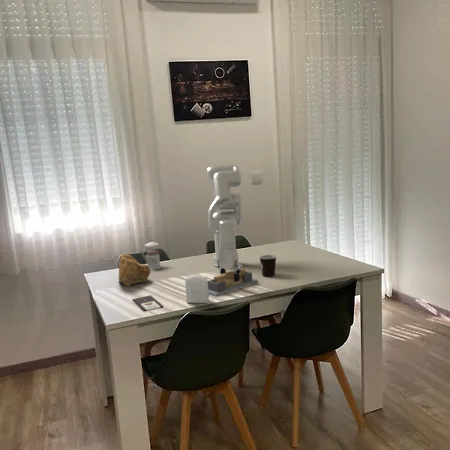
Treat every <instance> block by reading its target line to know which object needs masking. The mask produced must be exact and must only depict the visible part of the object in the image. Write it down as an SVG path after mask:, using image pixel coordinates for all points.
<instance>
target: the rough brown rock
mask: <svg viewBox="0 0 450 450" xmlns="http://www.w3.org/2000/svg"><path fill="white" fill-rule="evenodd" d="M150 275H151V270H150V268H149V267H148V266H147V264H143V263H139V261H137V259H136V258H135V257H133V256H132V255H131V254H127V253H126V254H123V253H122V254H121V256H120V258H119V262H118V281H119V282H121V283H123V284H124V285H125V286H126V287H130V286H131V285H135V284H138V283H142V284H144V283H147V282H148V280H149V279H148V278H149V276H150Z"/></svg>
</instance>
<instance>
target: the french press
mask: <svg viewBox="0 0 450 450" xmlns="http://www.w3.org/2000/svg"><path fill="white" fill-rule="evenodd" d="M152 228H153V227H152V226H151V225H149V226H148V229H149V230H150V231H149V232H150V234H152V233H151V229H152ZM150 240H151V241H150V242H147V243H146V244H144V247H143V248H142V249H141V252H142V254H141V256H142V258H143V259H144V260H146V265H147V266H148V267H149V268H150V271H151V270H158V269H161V268H162V267H163V266H162V265H161V261H160V260H161V259H160V252H159V250H158V249H151V250H147V248H153V247H154V248H155V247H158V246H159V243H158V242H154V241H152V239H150ZM145 250H147V251H146V254H145V253H144V251H145Z"/></svg>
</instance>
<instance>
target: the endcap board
mask: <svg viewBox="0 0 450 450" xmlns="http://www.w3.org/2000/svg"><path fill="white" fill-rule="evenodd" d="M207 281H208V294H209V295H210V296H213V297H218V296H222V295H223V294H227V293H230V292H233V291H235V290H238V289H241V288H244V287H247V286H249V285H253V284H256V283H258V282H259V281H258V279H256V278H253V273H252V272H250V271H247V270H245V274H243V282H240V283H238V284H235V285H232V286H229V287H226V282H225V281H222V282H219V283H216V282H214V278H213V279H209V280H207Z"/></svg>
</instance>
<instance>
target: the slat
mask: <svg viewBox="0 0 450 450" xmlns="http://www.w3.org/2000/svg"><path fill="white" fill-rule="evenodd" d="M235 270H236V269H235ZM236 271H237V270H236ZM245 271H246V269H245V268H242V269H241V271H240V273H239V276H240V281H237V282H234V274H235V273H234V271H233V270H229V271H226V273H224V274H220V273H219V274H216V275H215V276H214V275H213V279H214V282H216V283H219V282H222V281H225V282H226V287H229V286H232V285H235V284H238V283H240V282H243V274H245Z"/></svg>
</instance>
